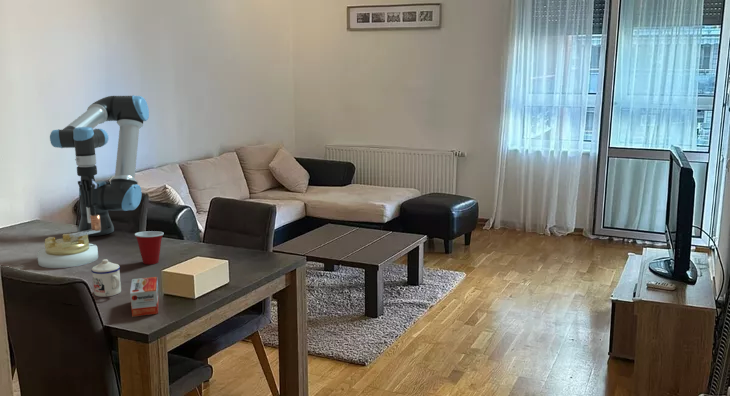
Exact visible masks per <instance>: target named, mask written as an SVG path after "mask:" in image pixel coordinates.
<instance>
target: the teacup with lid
mask: <svg viewBox="0 0 730 396" xmlns="http://www.w3.org/2000/svg"><path fill="white" fill-rule="evenodd" d="M120 269H121V267H120V265H119V264H118V263H113V262H111V261H109V260H108V259H107V258H106V259H102V260H101V262H100V263H98V264H97V265H94V266H93V267H92V268H91V271H90V272H91V273H92V274H91V275H92V283H93V294H94V295H95V296H96V297H99V298H100V297H102V298H103V297H104V298H105V297H108V298H109V297H112V296H116V295H118V294H120V293H121V292H122V283H121V272H120Z"/></svg>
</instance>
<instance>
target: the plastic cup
mask: <svg viewBox="0 0 730 396" xmlns="http://www.w3.org/2000/svg"><path fill="white" fill-rule="evenodd" d="M134 236H135V237H136V240H137V244H138V248H139V253H140V256H141V259H142V260H141V261H142V263H143V264H144V265H155V264H158V263H159V261H160V254H161V245H162V241H163V240H162V239H163V236H164V232H163V231H157V230H156V231H155V230H154V231H153V230H151V231H150V230H148V231H138V232H135V233H134Z"/></svg>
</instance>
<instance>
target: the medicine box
mask: <svg viewBox="0 0 730 396" xmlns="http://www.w3.org/2000/svg"><path fill="white" fill-rule="evenodd" d="M158 283H159V281H158V276H151V277H143V278H142V277H140V278H132V279H131V283H130V288H129V289H130V290H129V298H130V300H129V301H130V306H131V307H130V309H131V316H132V318H133V317H140V316H151V315H159V305H160V302H159V300H160V295H159V284H158Z"/></svg>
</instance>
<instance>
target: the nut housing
mask: <svg viewBox="0 0 730 396" xmlns="http://www.w3.org/2000/svg"><path fill="white" fill-rule="evenodd" d="M98 250H99V249H98V246H97V244H93V243H89V249H88V250H86V251H84V252H81V253H77V254H71V255H49V254H46V251H45V247H44V248H42V249H41V250H39V251H37V262H38V263H37V264H38V266H40V267H42V268H45V269H65V268H66V269H67V268H74V267H75V268H76V267H79V266H85V265H89V264H90V263H93V262H95V261H97V260H98V259H99V251H98Z"/></svg>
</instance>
